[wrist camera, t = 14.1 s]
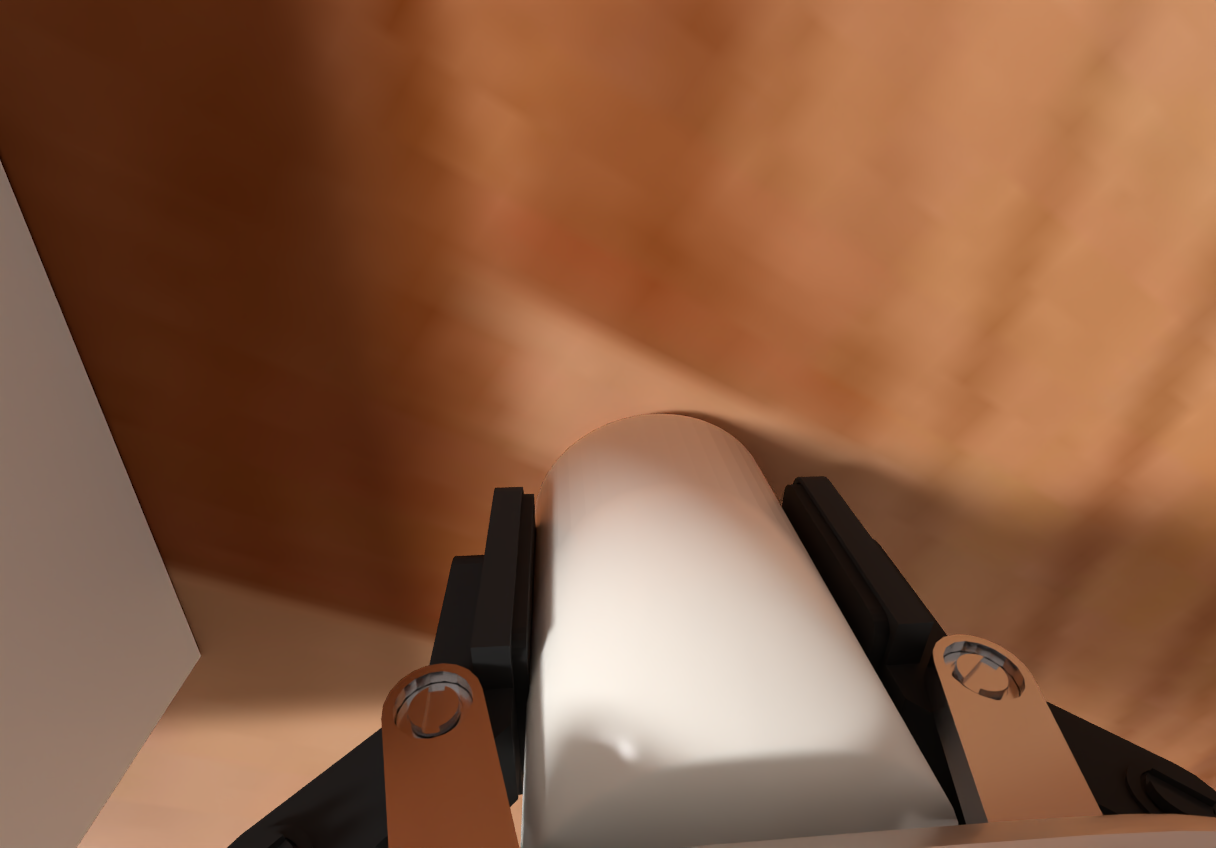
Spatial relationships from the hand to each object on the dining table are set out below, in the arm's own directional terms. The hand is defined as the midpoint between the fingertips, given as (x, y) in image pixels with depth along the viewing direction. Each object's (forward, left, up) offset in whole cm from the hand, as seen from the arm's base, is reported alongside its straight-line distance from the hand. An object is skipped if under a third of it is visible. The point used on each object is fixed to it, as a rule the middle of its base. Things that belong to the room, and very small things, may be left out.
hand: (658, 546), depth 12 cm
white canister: (0, 0, -1) cm, 1 cm away
